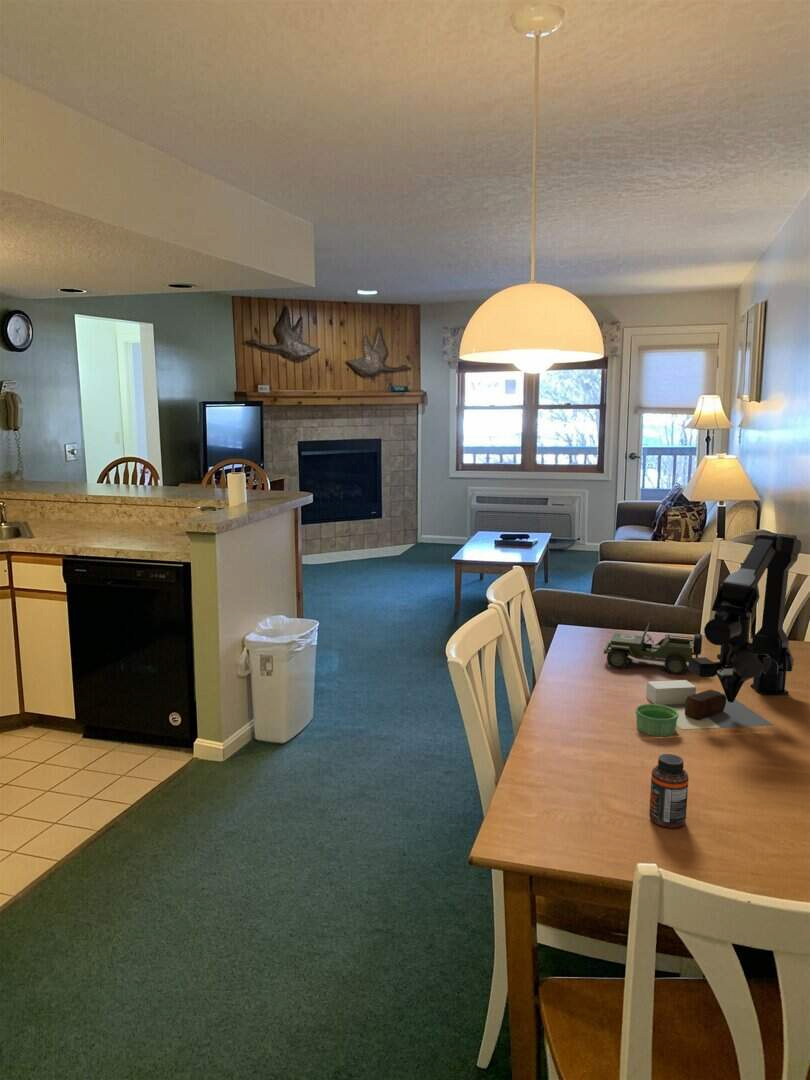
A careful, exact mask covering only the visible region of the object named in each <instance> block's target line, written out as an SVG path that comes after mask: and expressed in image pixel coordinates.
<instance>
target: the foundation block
mask: <svg viewBox="0 0 810 1080" xmlns="http://www.w3.org/2000/svg"><path fill="white" fill-rule="evenodd" d="M645 694H646V695H645V699H647V698H648V699H649V700H648V699H647V700H648V701H650V702H651V704H658V705H665V704H685V703H686V702H685V701H686V699H687V697H688V696H691V695H694V694H697V686H695V685H694V684H693V683H691V682H689V681H688V680H687V679H679V680H678V679H677V680H656V681H655V680H654V681H653V680H651V681H646V693H645Z"/></svg>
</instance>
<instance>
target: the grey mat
mask: <svg viewBox="0 0 810 1080" xmlns="http://www.w3.org/2000/svg"><path fill="white" fill-rule="evenodd" d="M721 693H722V694H724V695H725V692H721ZM725 696H726V695H725ZM646 699H647V700H648V701H650V700H649V699H648V698H646ZM664 706H668V707H671V708H673V709H675V710H676V711H677V712H678V713H679V716H678V719H677V724H676V727H678V728H679V729H680V730H699V729H700V730H701V729H703V730H704V729H721V728H723V729H724V728H739V727H740V728H741V727H759V726H760V727H763V726H765V727H766V726H774V724H773V723H771V722H770V721H768V720H767V719H766V718H764V717H763V716H761V715H759V714H758V713H757V712H755V711H754V710H752V709H751V708H749V707H747V706H746V705H745V704H743V703H742V702H740V701H739V700H737V699H736V698H735V700H734V702H731V703H730V702H728V700H727V698H726V705H725V708H724V711H722V712H720V713H717V714H715V715H712V716H709V717H707V718H703V719H701V720H696V719H693V718H691V717H688V716H685V704H665V705H664Z"/></svg>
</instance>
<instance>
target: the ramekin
mask: <svg viewBox="0 0 810 1080" xmlns="http://www.w3.org/2000/svg"><path fill="white" fill-rule="evenodd" d="M635 715H636V728H637V730H638V731H640V732H641V733H643V734H645V735H649V736H653V737H662V738H666V737H669V736H673V735H674V734H675V733H676V729H677V725H676V724H677V719H678V716H679V713H678V712H677V711H676V710H675V709H673V708H671V707H668V706H664V705H658V704H653V703H645V704H640V705H638V706H636V707H635Z"/></svg>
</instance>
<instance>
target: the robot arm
mask: <svg viewBox="0 0 810 1080" xmlns="http://www.w3.org/2000/svg"><path fill="white" fill-rule="evenodd" d="M801 550H802V541H801V540H800V539H798V537H797V535H795V534H787V533H777V532H759V533H757V534H756V536H755V538H754V544H753V545H752V546H751V548H750V550H749V552H748V554H747V555H746V557H745V558H744V560H743V562H742V563H741V566H740V567H739V569H738V570H737V571H735V572H732V573H730V574H728V576H727V577H726V578H725V579H724V580H723V582H722V583H721V584H719V585H720V586H719V588H718V590H717V593H716V595H715V598H714V599H715V600H713V604H712V608H711V611H712V612H716V613H714V615H713V618H711V619H710V620H708V622H706V624H705V626H704V628H703V629H704V630H703V633H704V636H705V638H706V640H707V641H708V642H709V643H711V644H712V645H714V646H720V651H719V652H720V653H717V655H716V659H718V660H719V661H713V660H711V659H710V658H708V657H698V658H696V657H692V659H691V660H690V661H689V662H688V666H687V667H688V670H689V671H691V672H692V673H694V674H695V675H697V676H698V677H700V678H710V677H713V678H714V677H715V676H717V678H718V680H719V682H720V684H721V686H722V689H723V693H725V695H726V698H727V700H728V702H730V703H731V702H734V700H735V699H736V698H737V696H738V694H739V691H740V690H741V688H742V686H743V685H744V684H745V682H746V681H748V680H750V679H753V682H752V684H751V683H750V687H751V688H752V689H754V690H757V691H758V692H759V693H760V694H762V695H766V696H769V695H773V696H774V695H788V694H789V691H788V690H786V680H787V678H786V677H787V672H793V667H794V658H793V655H792V653H791V650H790V648H789V643H790V642H789V638H788V636H787V635H786V632H785V631H784V629H783V628H784V619H785V618H784V617H785V609H786V601H787V600H786V599H787V591H788V579H789V572H790V570H791V568H792V567H793V566H794V565H795V564H796V562H797V561H798V558H799V554H801ZM765 572H767V573H766V581H765V589H764V600H763V609H762V621H761V627H760V629H759V630H758V631H757V632H756V633H754V635H753V636H752V639H751V640H752V641H751V642H750V632H751V631H750V630H751V621H752V620H751V615H753V613H754V611H755V610H756V607H757V604H758V602H759V600H760V591H759V586H758V585H759V582H760V580H761V579H762V577H763V575H764V573H765Z"/></svg>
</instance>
